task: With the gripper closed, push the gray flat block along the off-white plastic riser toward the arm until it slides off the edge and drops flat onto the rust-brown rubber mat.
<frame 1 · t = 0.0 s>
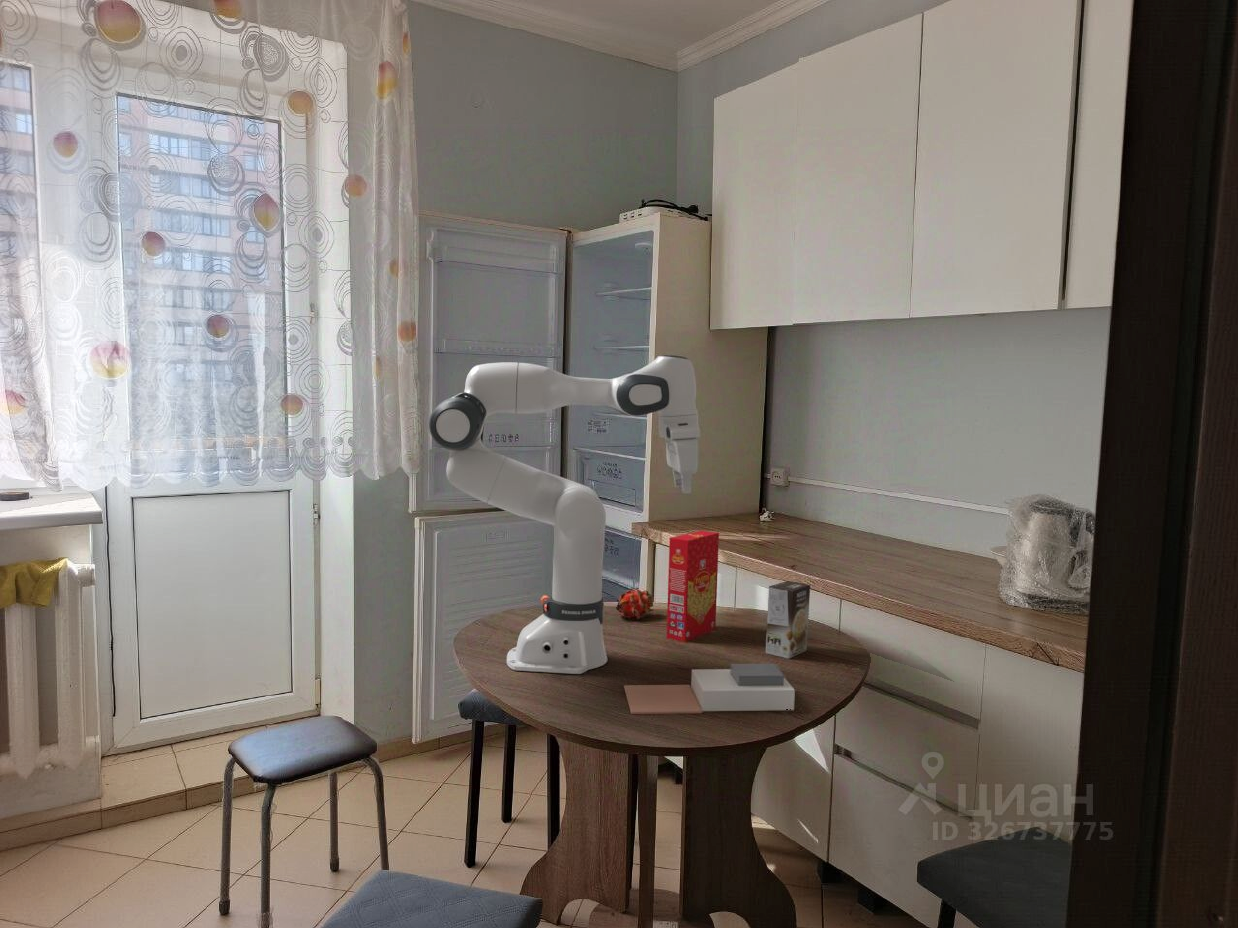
hand: (683, 490, 186), 39 cm above the table, tool pointing down, fingers open, 8 cm apart
coffee box: (786, 652, 197), on the table
mat: (661, 699, 165), on the table
food packaging: (691, 634, 210), on the table
gray flat block: (756, 679, 167), point 4 cm above the table, touching riser
dragon fruit: (633, 618, 223), on the table
riser: (740, 698, 167), on the table
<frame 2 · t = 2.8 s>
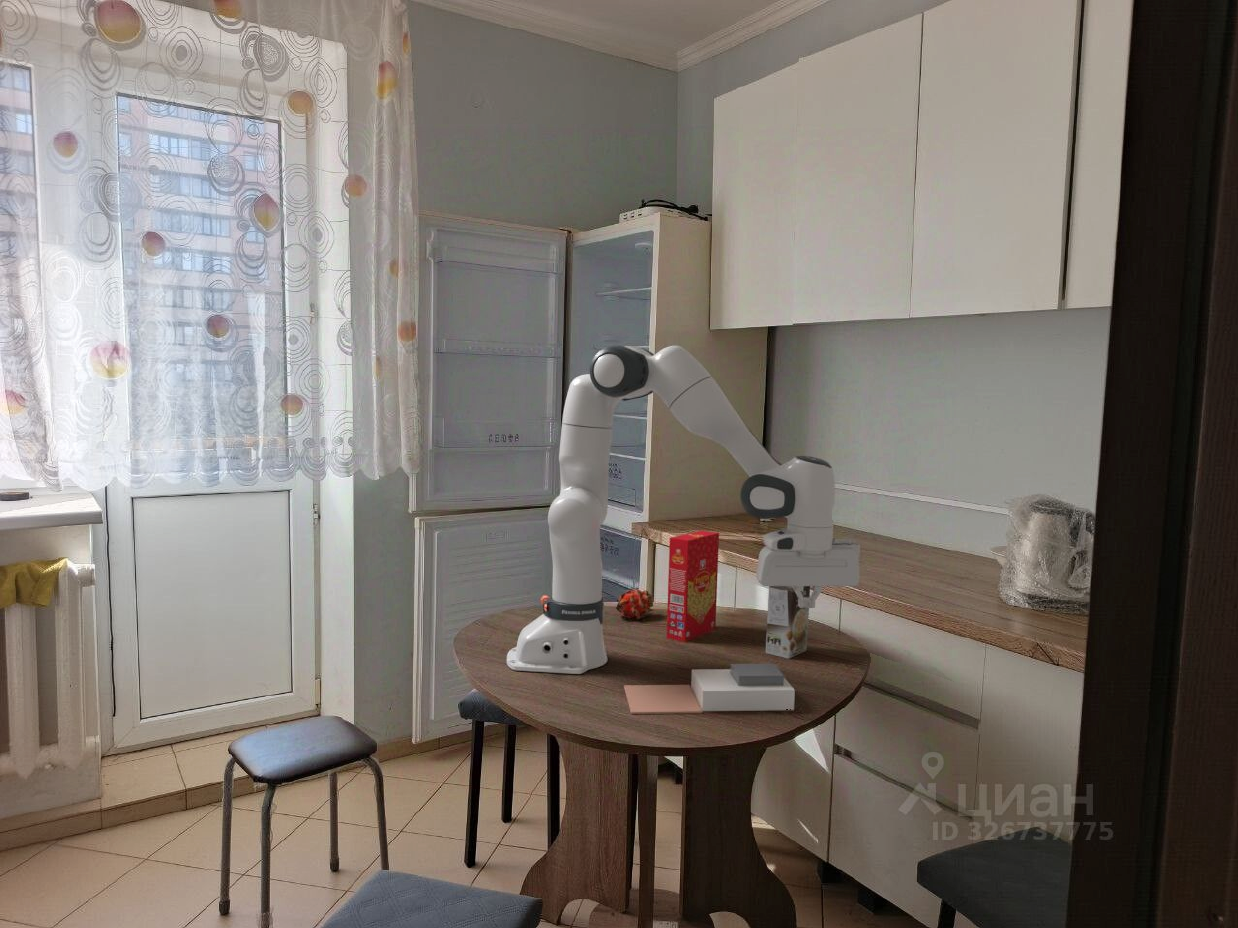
hand: (806, 607, 166), 19 cm above the table, tool pointing down, fingers closed
nothing on the table moved.
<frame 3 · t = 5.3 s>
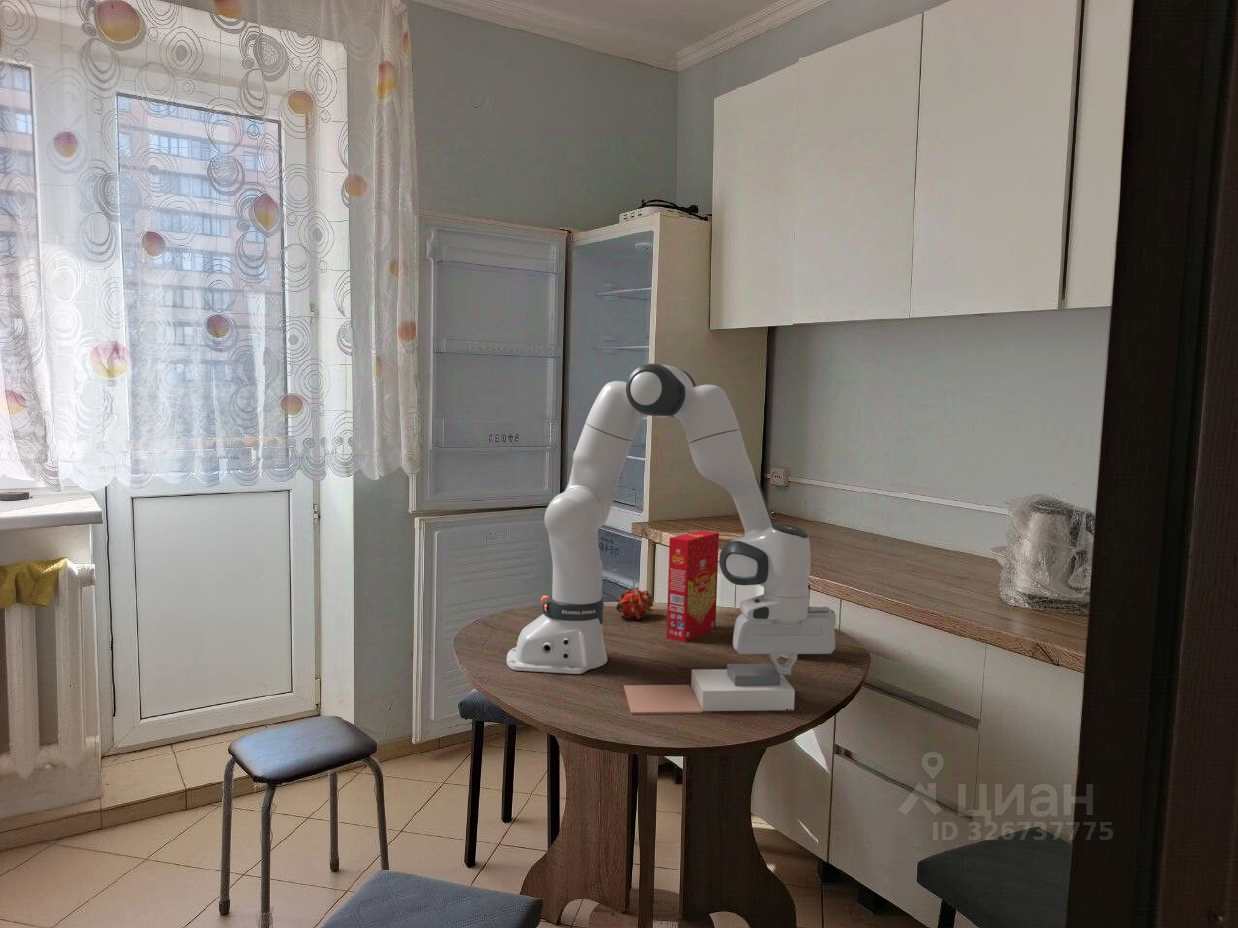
hand: (782, 674, 167), 5 cm above the table, tool pointing down, fingers closed
nothing on the table moved.
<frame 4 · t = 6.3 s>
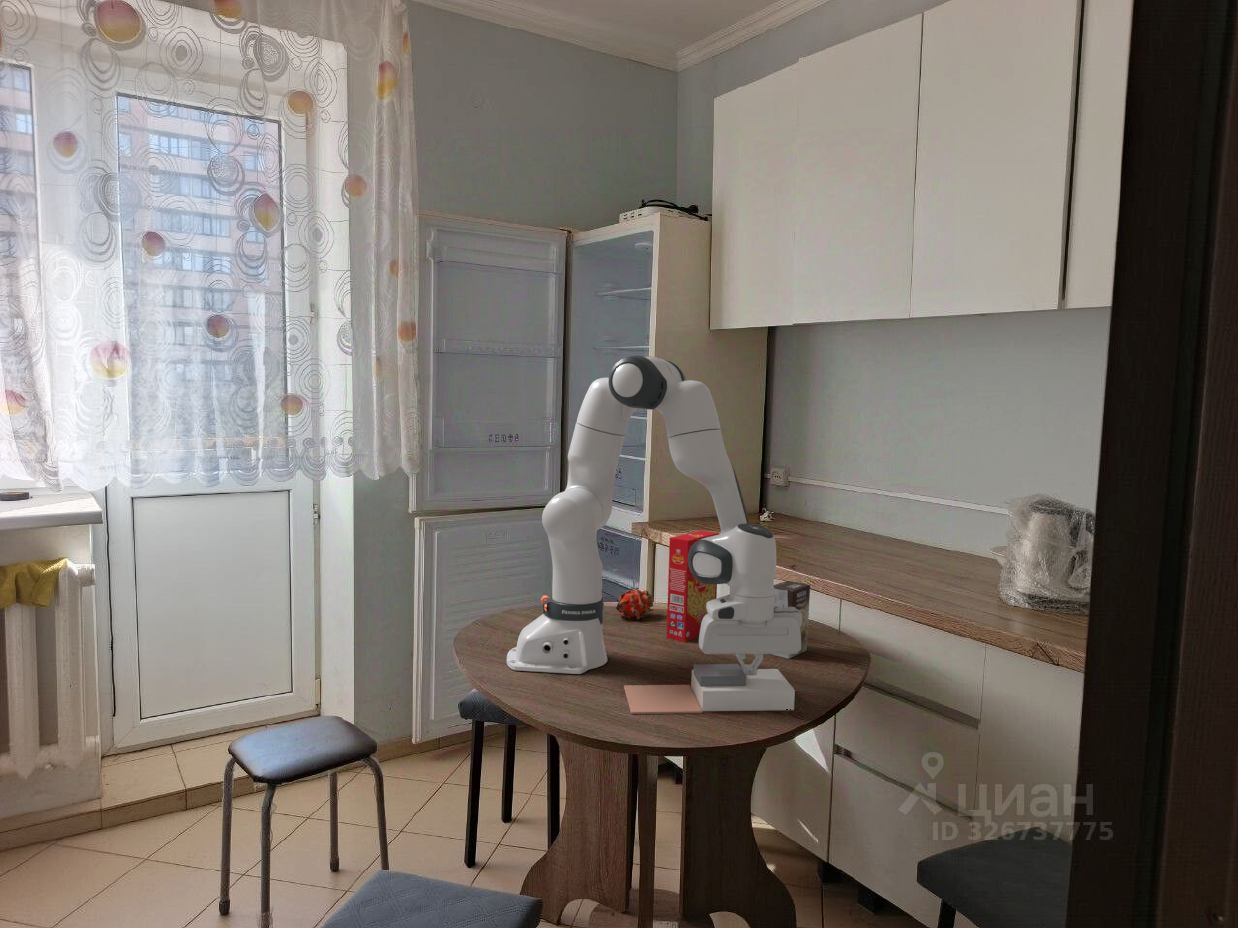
hand: (748, 674, 167), 5 cm above the table, tool pointing down, fingers closed
gray flat block: (719, 679, 166), point 4 cm above the table, touching gripper, riser
everything else where it was.
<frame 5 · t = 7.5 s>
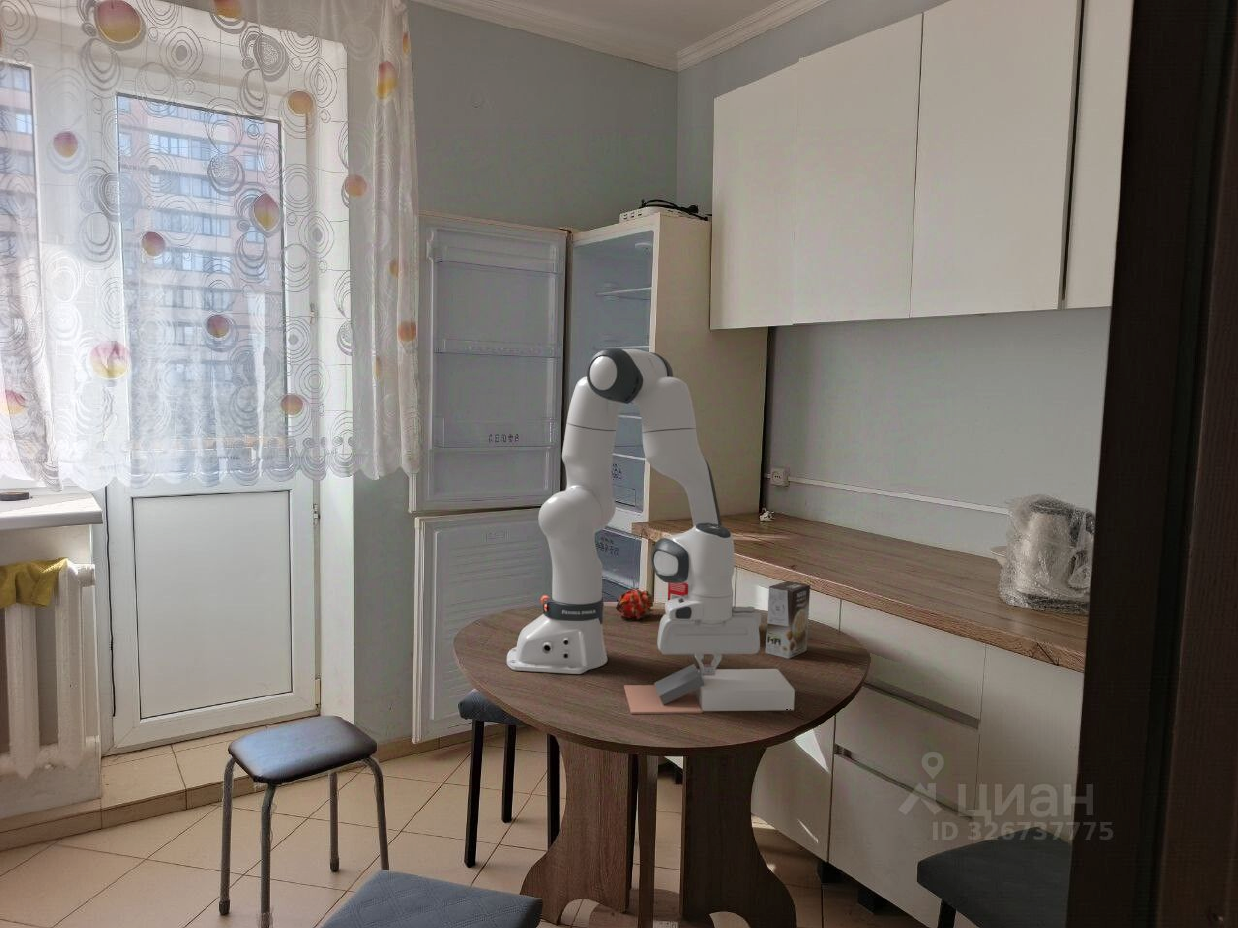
hand: (707, 674, 166), 5 cm above the table, tool pointing down, fingers closed
gray flat block: (681, 688, 165), point 2 cm above the table, tilted 26°
everything else where it was.
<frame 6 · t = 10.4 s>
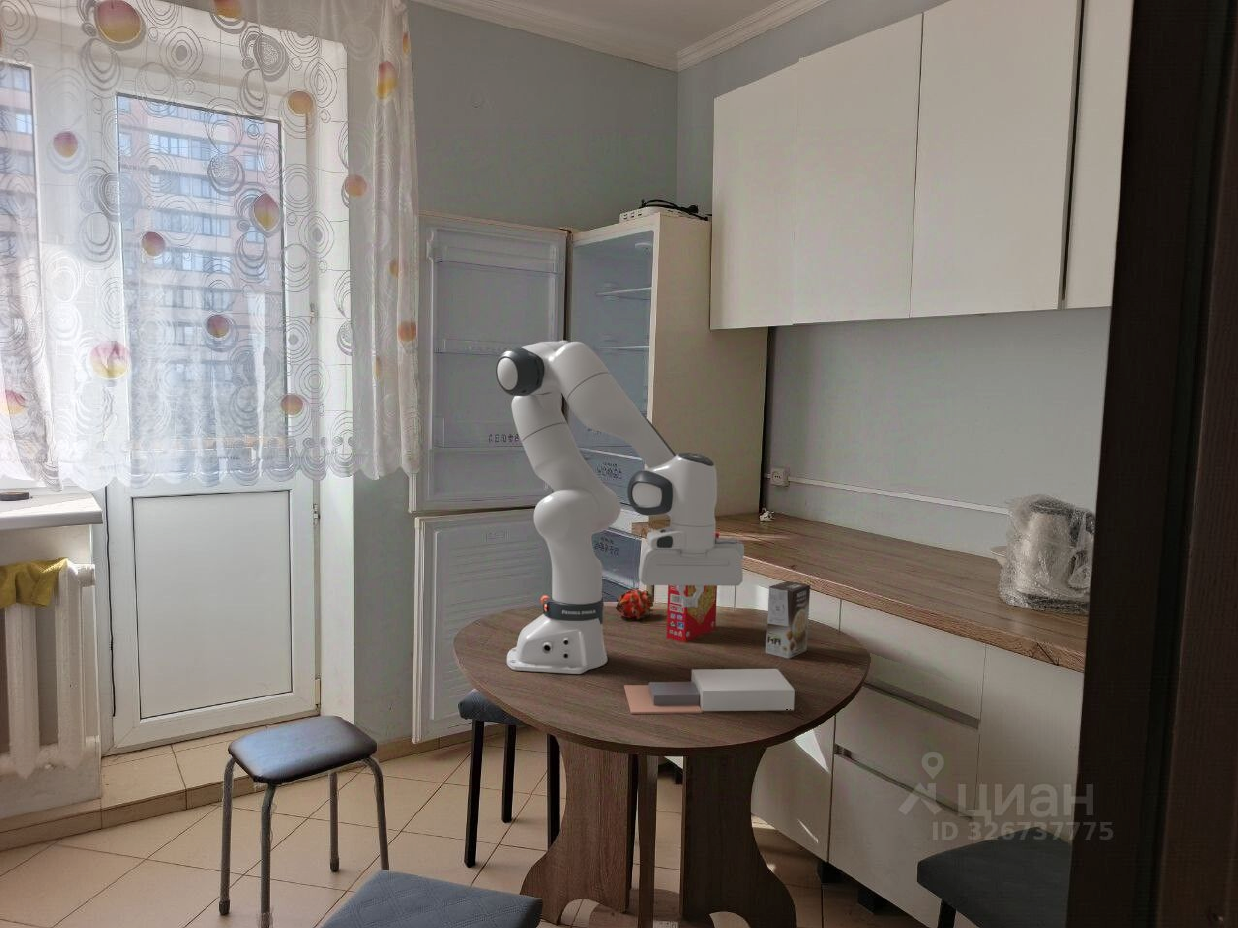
hand: (689, 606, 164), 19 cm above the table, tool pointing down, fingers closed
gray flat block: (673, 698, 165), resting on mat
everything else where it was.
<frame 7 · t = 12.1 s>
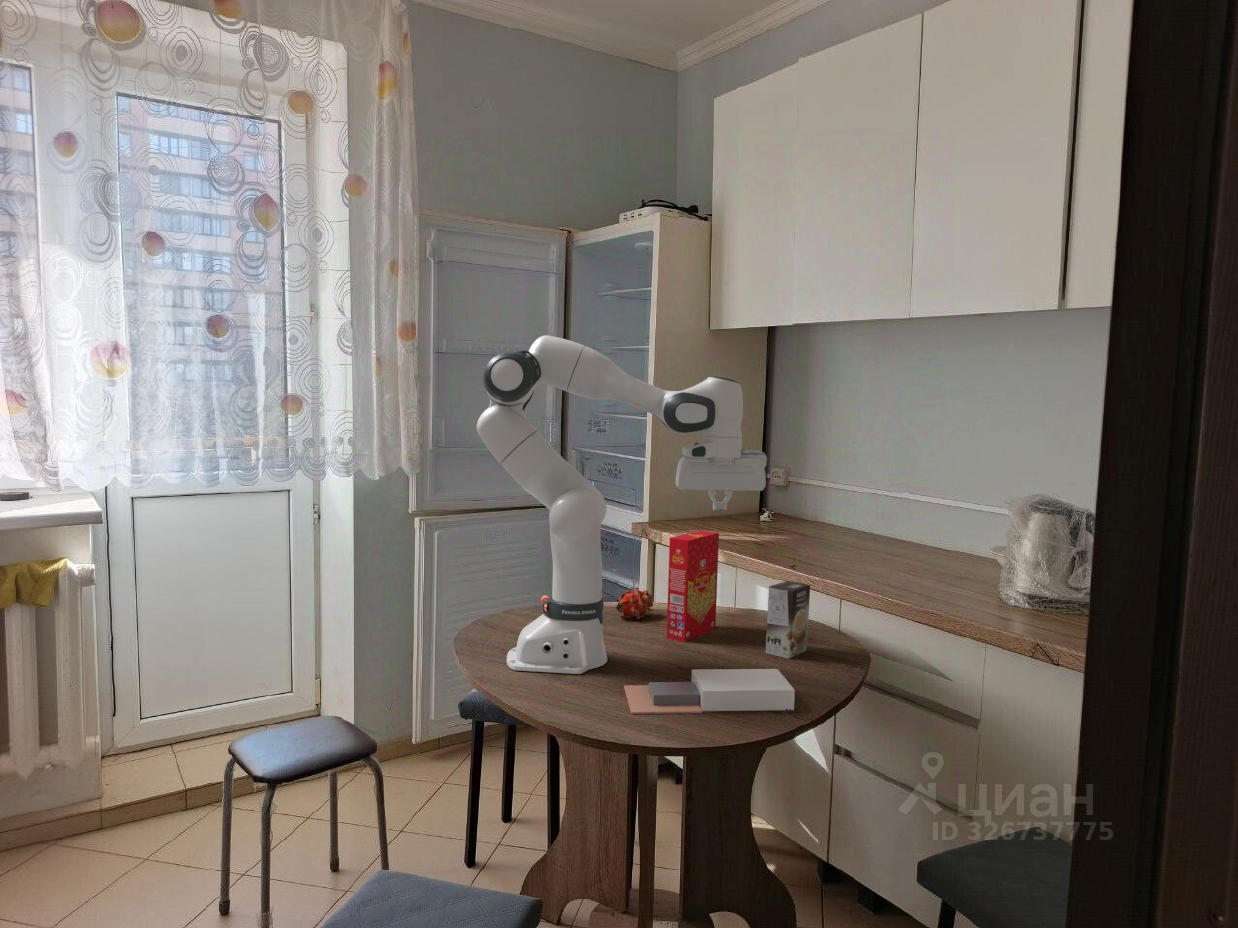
hand: (719, 509, 189), 34 cm above the table, tool pointing down, fingers closed
nothing on the table moved.
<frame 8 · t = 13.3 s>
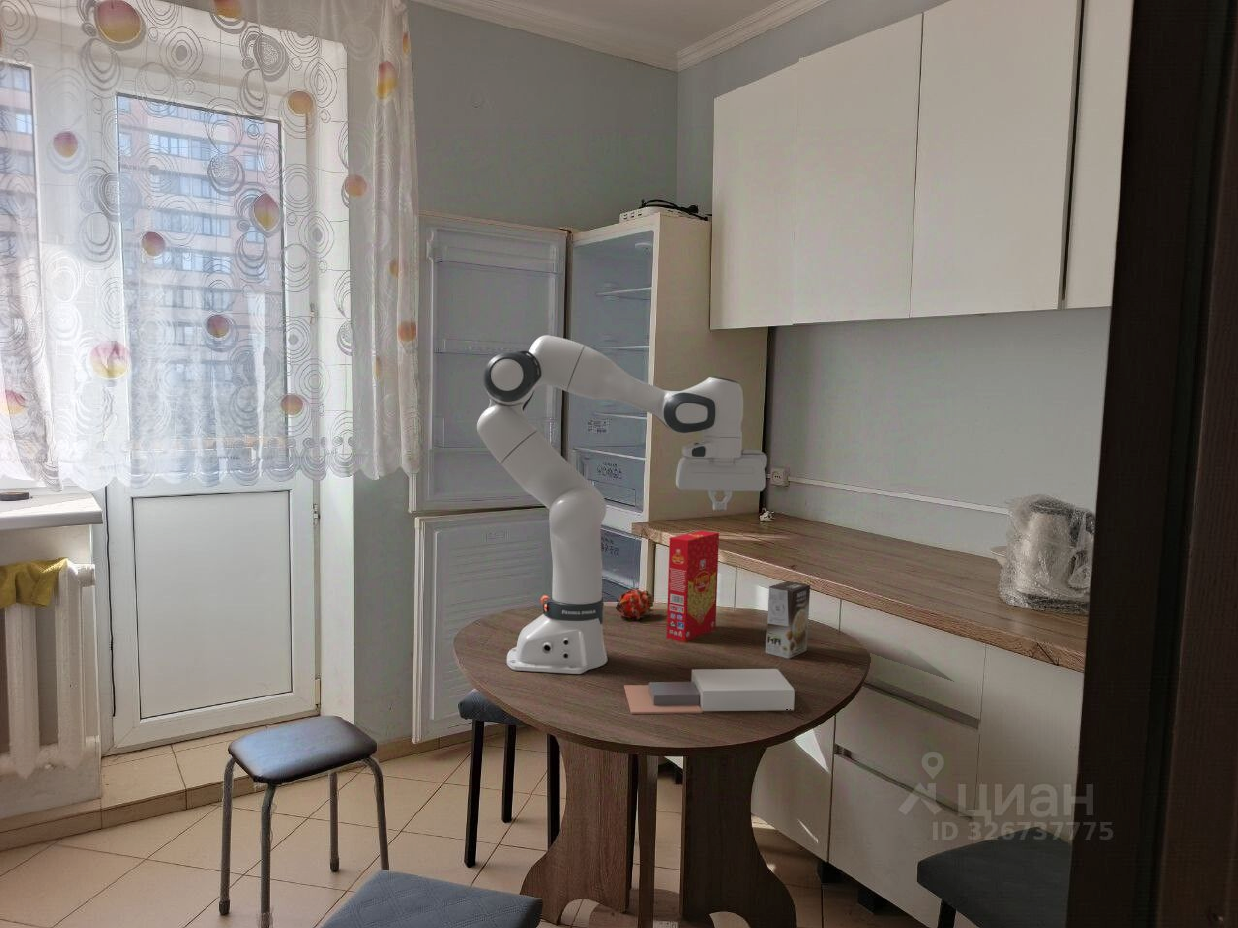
hand: (719, 510, 189), 34 cm above the table, tool pointing down, fingers closed
nothing on the table moved.
at the end: gray flat block resting on mat; gray flat block inside the target area (2.3 cm from its centre), resting on mat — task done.
